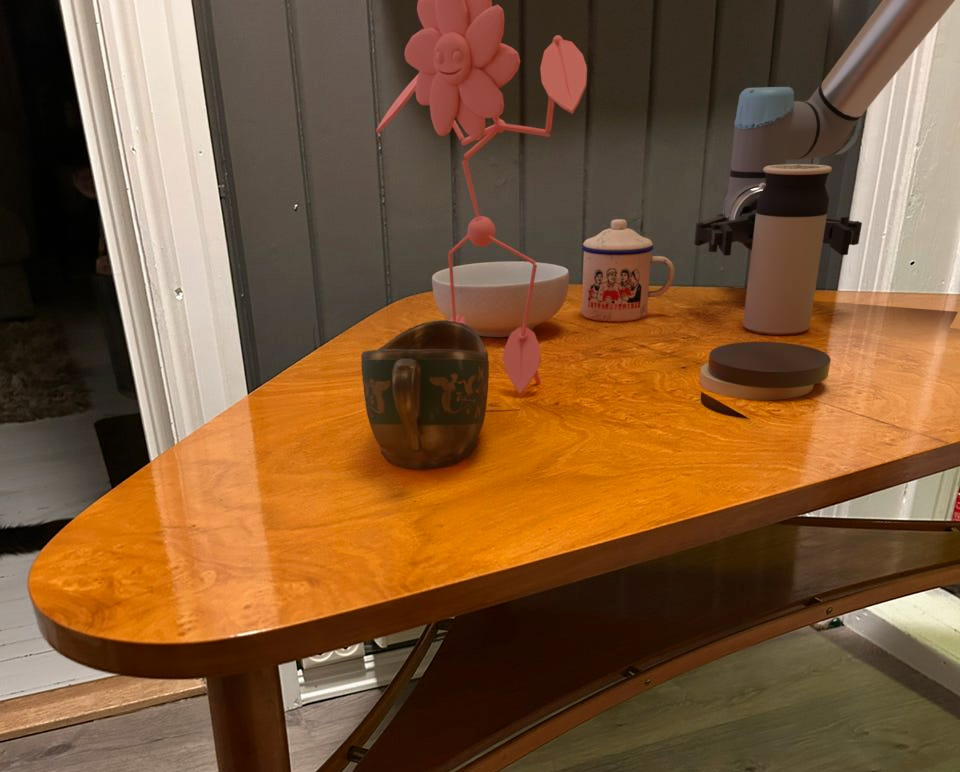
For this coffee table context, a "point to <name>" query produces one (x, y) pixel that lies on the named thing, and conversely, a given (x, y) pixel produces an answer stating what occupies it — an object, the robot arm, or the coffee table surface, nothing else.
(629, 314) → the teacup with lid
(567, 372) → the coffee table surface
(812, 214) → the travel mug
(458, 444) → the cup
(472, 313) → the cereal bowl
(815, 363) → the coaster pile
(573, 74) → the figurine
